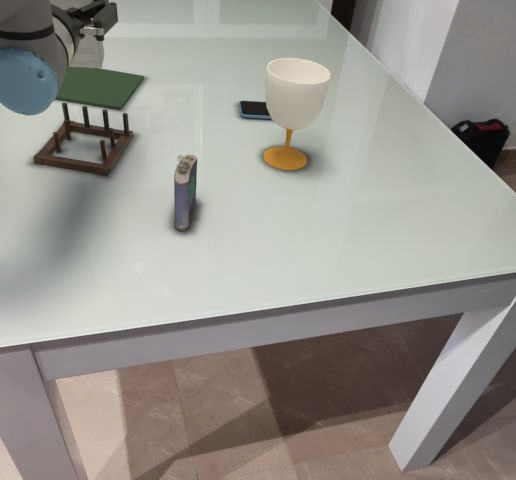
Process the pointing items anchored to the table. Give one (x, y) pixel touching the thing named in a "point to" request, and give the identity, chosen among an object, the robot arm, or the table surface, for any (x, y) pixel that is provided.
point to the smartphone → (254, 109)
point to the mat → (98, 87)
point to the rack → (68, 126)
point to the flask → (185, 191)
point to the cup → (293, 103)
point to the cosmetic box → (84, 40)
